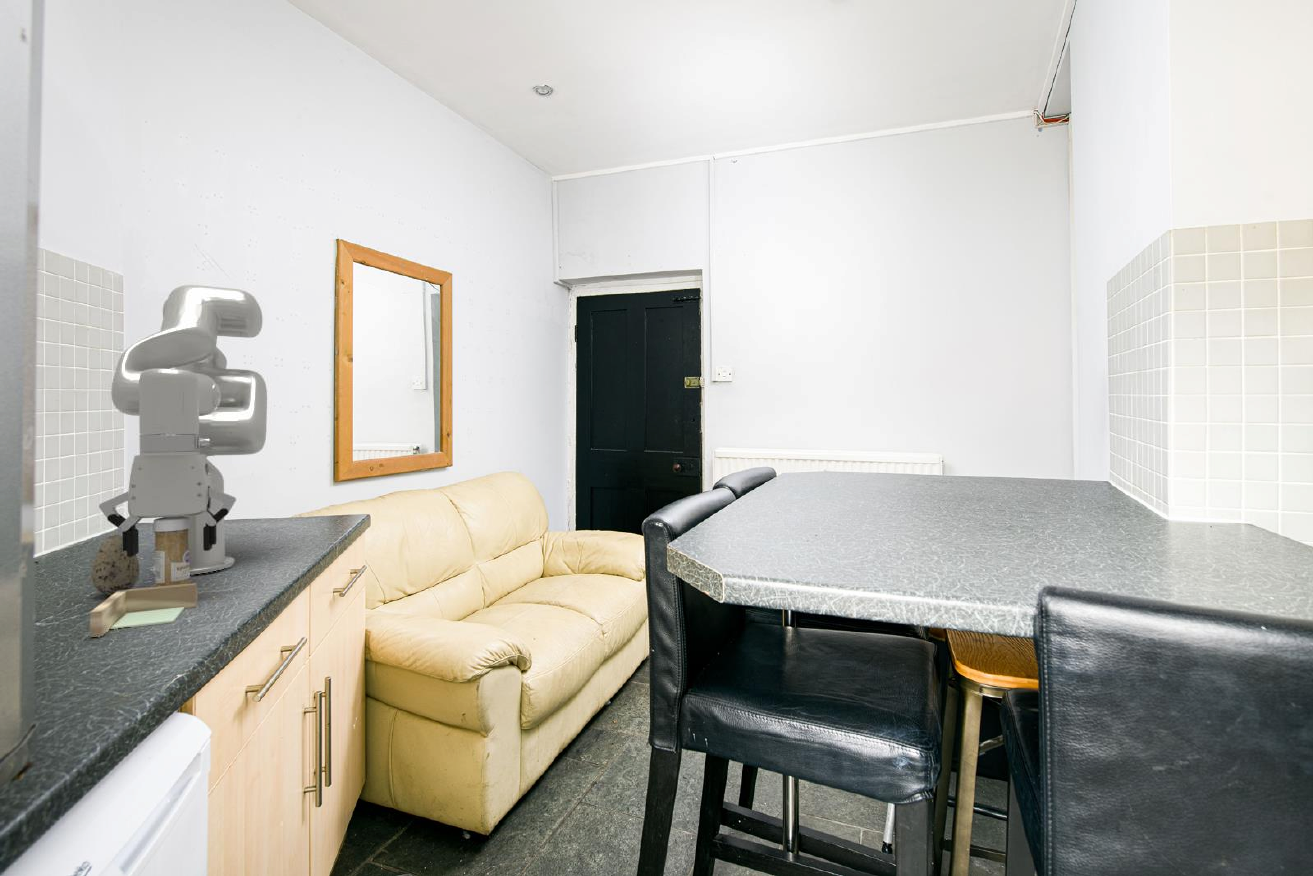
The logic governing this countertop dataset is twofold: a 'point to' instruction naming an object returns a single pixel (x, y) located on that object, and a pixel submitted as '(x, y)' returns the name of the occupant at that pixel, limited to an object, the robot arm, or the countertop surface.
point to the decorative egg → (114, 567)
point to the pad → (148, 618)
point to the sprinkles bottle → (171, 551)
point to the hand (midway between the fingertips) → (171, 552)
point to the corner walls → (140, 604)
